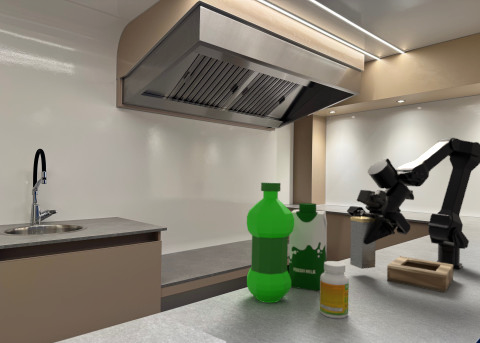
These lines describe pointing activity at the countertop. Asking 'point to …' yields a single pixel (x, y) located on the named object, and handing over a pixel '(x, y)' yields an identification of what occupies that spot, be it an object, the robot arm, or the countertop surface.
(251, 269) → the plastic bottle
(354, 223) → the tea canister
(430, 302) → the countertop surface
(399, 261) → the caddy
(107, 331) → the countertop surface
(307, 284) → the milk carton
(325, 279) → the supplement bottle
